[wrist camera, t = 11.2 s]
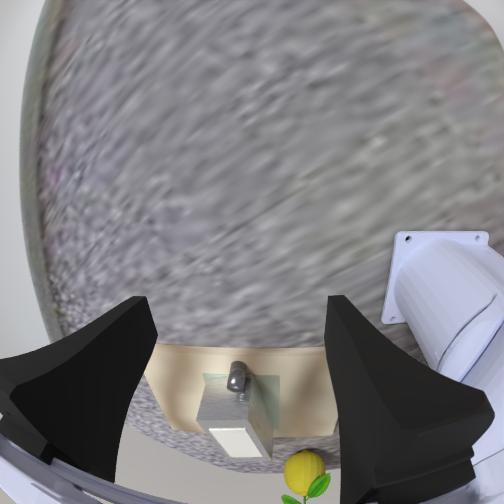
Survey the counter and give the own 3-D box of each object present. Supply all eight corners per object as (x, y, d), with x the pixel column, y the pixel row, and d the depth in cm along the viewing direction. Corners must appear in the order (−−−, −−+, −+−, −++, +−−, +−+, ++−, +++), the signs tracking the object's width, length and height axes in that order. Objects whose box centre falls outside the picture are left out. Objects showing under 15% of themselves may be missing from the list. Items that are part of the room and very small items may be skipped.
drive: (252, 373, 23) (247, 420, 19) (273, 422, 27) (271, 461, 22) (207, 377, 24) (195, 421, 20) (235, 425, 28) (230, 462, 23)
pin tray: (352, 344, 23) (360, 373, 20) (331, 428, 29) (333, 451, 26) (136, 341, 25) (122, 366, 22) (174, 423, 31) (167, 444, 28)
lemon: (282, 459, 33) (280, 515, 24) (277, 444, 31) (274, 508, 22) (327, 455, 32) (330, 511, 23) (327, 439, 30) (332, 503, 21)
